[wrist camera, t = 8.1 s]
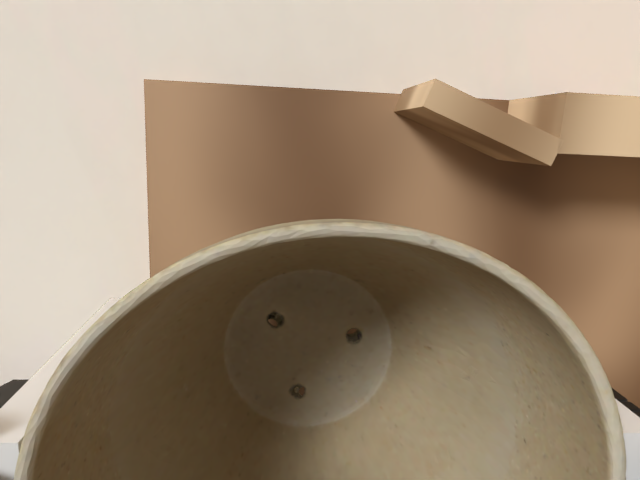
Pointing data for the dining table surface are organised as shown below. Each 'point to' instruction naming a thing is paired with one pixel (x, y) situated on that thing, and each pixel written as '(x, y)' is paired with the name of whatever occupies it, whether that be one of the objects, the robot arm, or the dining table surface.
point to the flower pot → (329, 369)
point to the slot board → (417, 183)
